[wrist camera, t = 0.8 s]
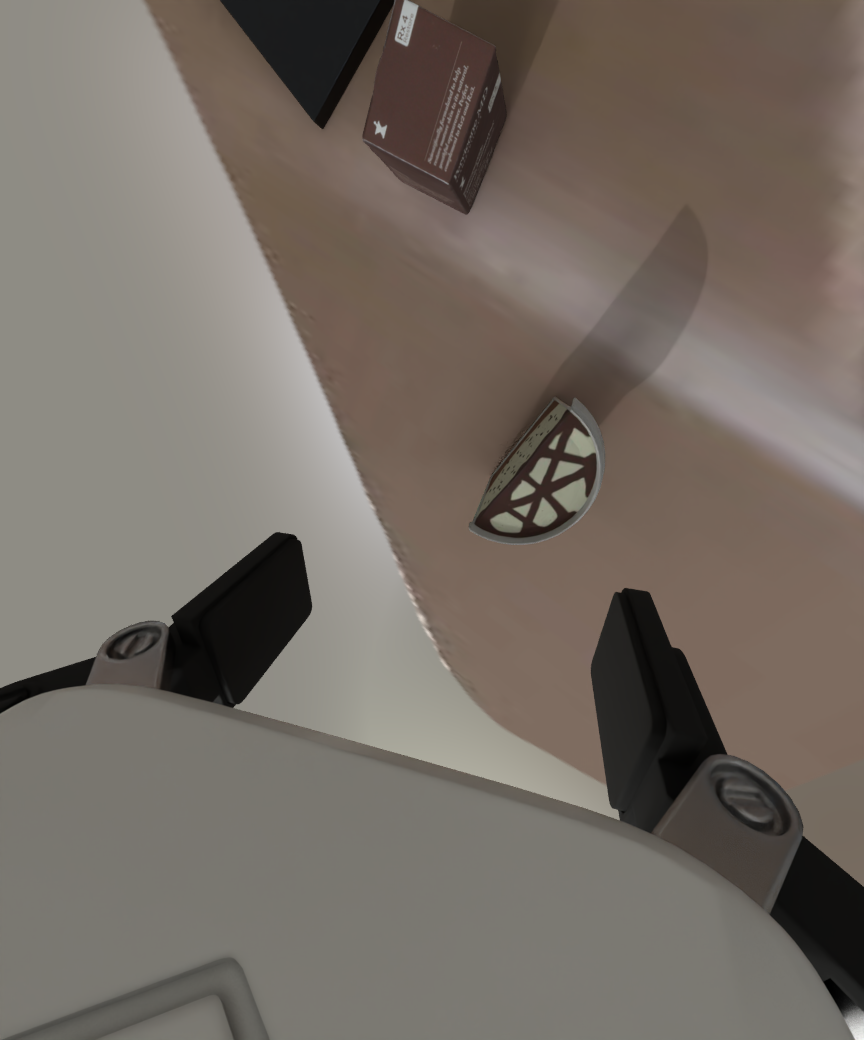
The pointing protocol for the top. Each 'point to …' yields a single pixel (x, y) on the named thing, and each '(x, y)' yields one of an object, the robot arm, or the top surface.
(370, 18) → the scale
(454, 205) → the box
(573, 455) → the food container
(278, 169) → the top surface
